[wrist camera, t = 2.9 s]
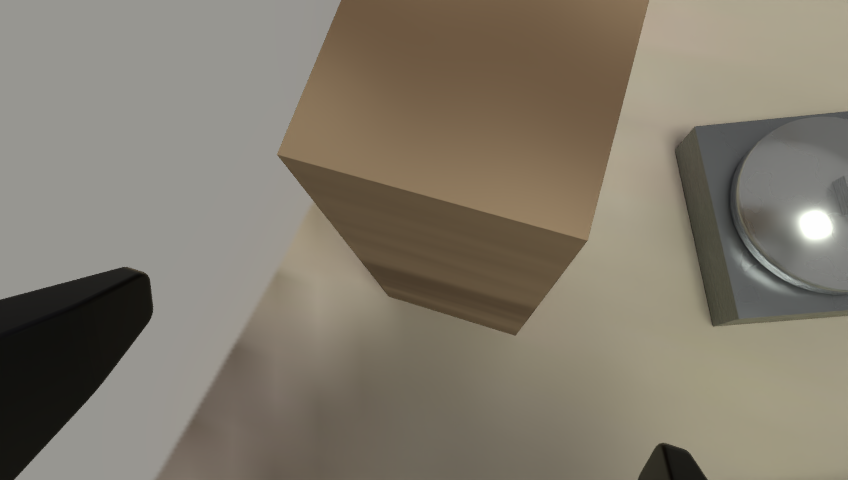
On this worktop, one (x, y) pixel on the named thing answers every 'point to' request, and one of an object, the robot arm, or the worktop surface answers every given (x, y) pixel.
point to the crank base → (720, 241)
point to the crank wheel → (797, 203)
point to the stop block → (465, 142)
